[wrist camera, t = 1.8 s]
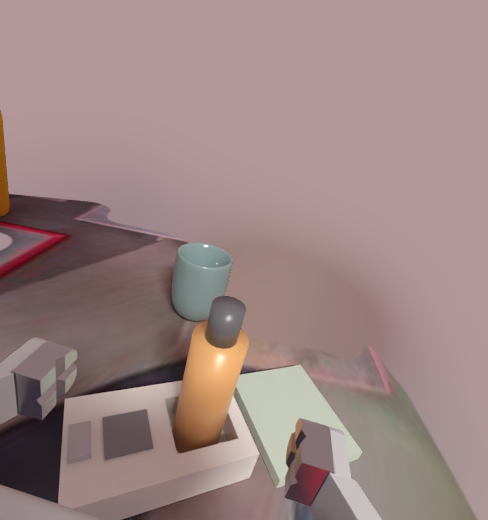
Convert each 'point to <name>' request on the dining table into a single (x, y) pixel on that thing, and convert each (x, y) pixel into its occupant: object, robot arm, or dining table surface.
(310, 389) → the mat
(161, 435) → the white bottle holder
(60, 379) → the robot arm
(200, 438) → the orange capped bottle
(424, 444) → the dining table surface
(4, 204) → the beer bottle
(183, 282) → the cup
